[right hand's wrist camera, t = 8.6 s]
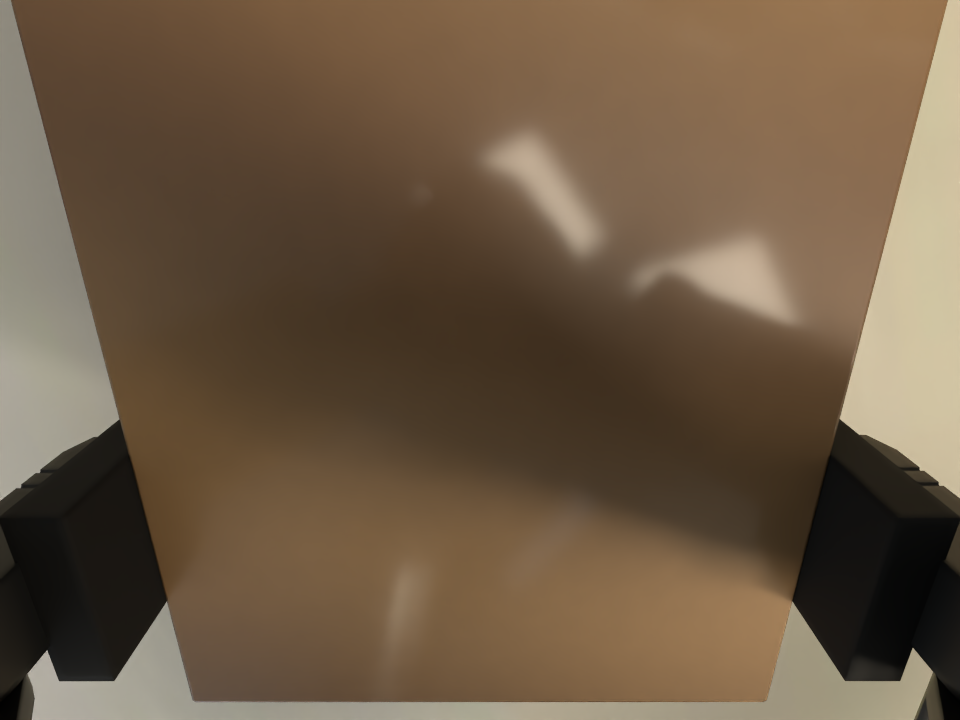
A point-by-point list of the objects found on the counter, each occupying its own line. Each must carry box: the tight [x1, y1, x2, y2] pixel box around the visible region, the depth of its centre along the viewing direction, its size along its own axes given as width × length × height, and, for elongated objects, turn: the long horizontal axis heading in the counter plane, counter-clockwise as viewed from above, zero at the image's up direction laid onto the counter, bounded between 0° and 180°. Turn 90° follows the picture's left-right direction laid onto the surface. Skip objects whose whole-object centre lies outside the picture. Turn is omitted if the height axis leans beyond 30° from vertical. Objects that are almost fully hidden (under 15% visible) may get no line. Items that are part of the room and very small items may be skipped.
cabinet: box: [11, 0, 948, 702], centre depth 11 cm, size 18×10×8 cm, turn 0°
